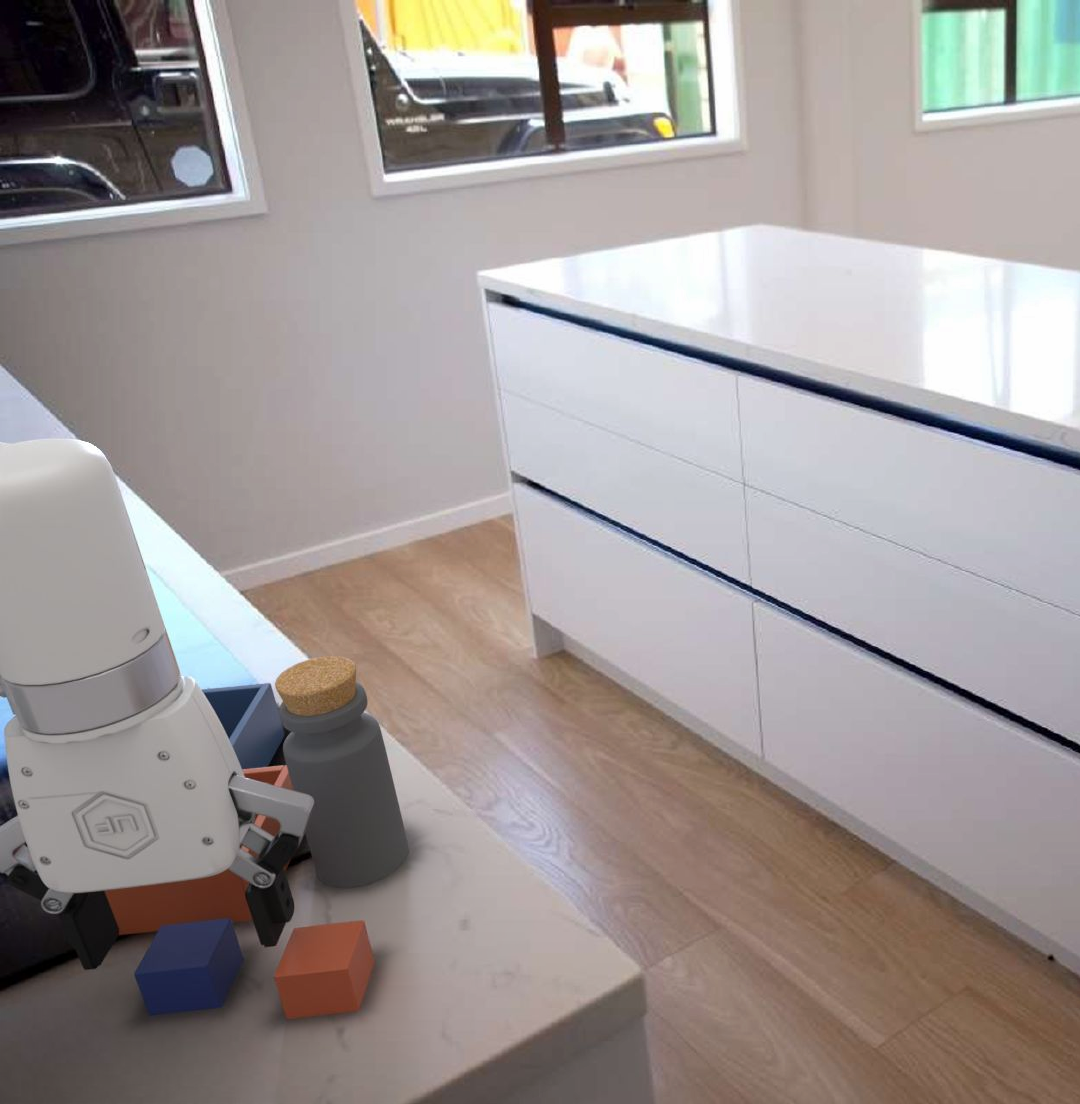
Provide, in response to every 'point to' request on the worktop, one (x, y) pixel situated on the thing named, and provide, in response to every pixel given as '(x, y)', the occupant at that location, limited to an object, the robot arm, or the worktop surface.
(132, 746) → the robot arm
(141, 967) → the navy block
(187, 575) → the worktop surface
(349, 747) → the bottle
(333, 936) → the terracotta block
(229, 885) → the terracotta bin
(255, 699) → the blue bin
